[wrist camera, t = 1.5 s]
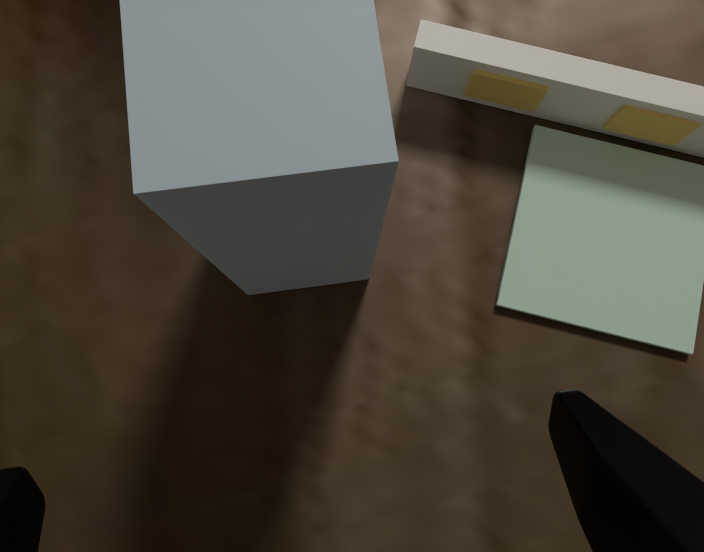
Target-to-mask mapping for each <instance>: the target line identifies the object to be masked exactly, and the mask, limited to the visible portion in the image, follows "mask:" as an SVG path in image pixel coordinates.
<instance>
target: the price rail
mask: <svg viewBox="0 0 704 552" xmlns="http://www.w3.org/2000/svg"><path fill="white" fill-rule="evenodd" d="M406 86H409V87H414V88H418V89H422V90H426V91H430V92H434V93H438V94H443V95H447V96H451V97H455V98H459V99H463V100H467V101H471V102H476V103H480V104H484V105H488V106H492V107H496V108H500V109H505V110H509V111H513V112H517V113H521V114H525V115H529V116H533V117H538V118H542V119H546V120H550V121H554V122H558V123H562V124H567V125H571V126H575V127H579V128H583V129H587V130H591V131H595V132H600V133H604V134H608V135H612V136H616V137H620V138H624V139H629V140H633V141H637V142H641V143H645V144H649V145H653V146H658V147H662V148H666V149H670V150H674V151H678V152H682V153H686V154H691V155H695V156H699V157H703V158H704V87H703V86H699V85H695V84H690V83H686V82H682V81H678V80H674V79H669V78H665V77H661V76H657V75H652V74H648V73H644V72H640V71H636V70H631V69H627V68H623V67H619V66H615V65H610V64H606V63H602V62H598V61H594V60H589V59H585V58H581V57H577V56H573V55H568V54H564V53H560V52H556V51H552V50H547V49H543V48H539V47H535V46H531V45H526V44H522V43H518V42H514V41H510V40H505V39H501V38H497V37H493V36H489V35H484V34H480V33H476V32H472V31H468V30H463V29H459V28H455V27H451V26H447V25H442V24H438V23H434V22H430V21H426V20H421V21H420V25H419V29H418V33H417V37H416V41H415V45H414V49H413V54H412V58H411V63H410V68H409V73H408V78H407V82H406Z"/></svg>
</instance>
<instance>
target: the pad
mask: <svg viewBox="0 0 704 552" xmlns="http://www.w3.org/2000/svg"><path fill="white" fill-rule="evenodd" d="M703 282H704V166H703V165H699V164H695V163H691V162H687V161H683V160H678V159H674V158H670V157H666V156H662V155H658V154H654V153H649V152H645V151H641V150H637V149H633V148H629V147H625V146H621V145H616V144H612V143H608V142H604V141H600V140H596V139H592V138H588V137H583V136H579V135H575V134H571V133H567V132H563V131H559V130H555V129H550V128H546V127H542V126H538V125H535V126H534V127H533V129H532V134H531V139H530V144H529V148H528V153H527V158H526V162H525V167H524V172H523V177H522V181H521V186H520V191H519V196H518V200H517V205H516V210H515V214H514V219H513V224H512V229H511V233H510V238H509V243H508V248H507V252H506V257H505V262H504V266H503V271H502V276H501V281H500V285H499V290H498V295H497V300H496V304H495V306H499V307H503V308H507V309H511V310H515V311H519V312H523V313H527V314H531V315H535V316H539V317H543V318H546V319H550V320H554V321H558V322H562V323H566V324H570V325H574V326H578V327H582V328H586V329H590V330H594V331H598V332H602V333H606V334H610V335H614V336H618V337H622V338H626V339H629V340H633V341H637V342H641V343H645V344H649V345H653V346H657V347H661V348H665V349H669V350H673V351H677V352H681V353H685V354H693V351H694V344H695V337H696V330H697V323H698V317H699V310H700V303H701V296H702V289H703Z"/></svg>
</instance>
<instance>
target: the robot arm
mask: <svg viewBox="0 0 704 552" xmlns="http://www.w3.org/2000/svg"><path fill="white" fill-rule="evenodd" d="M549 433H550V437H551V440H552V443H553V446H554V449H555V452H556V455H557V458H558V461H559V464H560V467H561V470H562V473H563V476H564V479H565V482H566V485H567V488H568V491H569V494H570V497H571V500H572V503H573V506H574V508H575V511H576V514H577V517H578V520H579V522H580V524H581V527H582V529H583V531H584V534H585V536H586V538H587V540H588V542H589V544H590V547H591V549H592V551H593V552H704V482H703V481H701V480H700V479H699V478H697V477H696V476H695V475H693V474H692V473H691V472H689V471H688V470H687V469H685V468H684V467H683V466H681V465H680V464H679V463H677V462H676V461H675V460H673V459H672V458H671V457H669V456H668V455H667V454H665V453H664V452H663V451H661V450H660V449H659V448H657V447H656V446H655V445H653V444H652V443H651V442H649V441H648V440H647V439H645V438H644V437H643V436H641V435H640V434H638V433H637V432H636V431H634V430H633V429H632V428H630V427H629V426H628V425H626V424H625V423H624V422H622V421H621V420H620V419H618V418H617V417H616V416H614V415H613V414H612V413H610V412H609V411H608V410H606V409H605V408H604V407H602V406H601V405H600V404H598V403H597V402H596V401H594V400H593V399H592V398H590V397H589V396H588V395H586V394H585V393H584V392H582V391H580V390H577V389H573V390H566V391H559V392H556V393H555V394H554V396H553V400H552V406H551V412H550V418H549ZM44 512H45V499H44V495H43V493H42V492H41V490H40V489H39V487H38V486H37V484H36V483H35V481H34V479H33V478H32V476H31V475H30V473H29V472H28V471H27V469H25V468H23V467H13V468H6V469H0V552H38V547H39V542H40V536H41V530H42V524H43V518H44Z"/></svg>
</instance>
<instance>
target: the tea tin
mask: <svg viewBox="0 0 704 552" xmlns="http://www.w3.org/2000/svg"><path fill="white" fill-rule="evenodd" d="M120 13H121V27H122V41H123V55H124V69H125V83H126V97H127V111H128V125H129V139H130V153H131V167H132V181H133V194H134V195H135V196H136V197H138V198H139V199H140V200H141V201H142V202H143V203H144V204H146V205H147V206H148V207H149V208H150V209H151V210H152V211H153V212H155V213H156V214H157V215H158V216H159V217H160V218H161V219H162V220H164V221H165V222H166V223H167V224H168V225H169V226H170V227H172V228H173V229H174V230H175V231H176V232H177V233H178V234H179V235H181V236H182V237H183V238H184V239H185V240H186V241H187V242H188V243H190V244H191V245H192V246H193V247H194V248H195V249H196V250H198V251H199V252H200V253H201V254H202V255H203V256H204V257H205V258H207V259H208V260H209V261H210V262H211V263H212V264H213V265H214V266H216V267H217V268H218V269H219V270H220V271H221V272H222V273H224V274H225V275H226V276H227V277H228V278H229V279H230V280H231V281H233V282H234V283H235V284H236V285H237V286H238V287H239V288H240V289H242V290H243V291H244V292H245V293H246V294H247V295H253V294H261V293H268V292H276V291H284V290H291V289H299V288H307V287H314V286H322V285H329V284H337V283H345V282H352V281H360V280H368V279H369V278H370V274H371V270H372V266H373V262H374V258H375V254H376V250H377V246H378V242H379V238H380V234H381V230H382V226H383V222H384V218H385V214H386V210H387V206H388V202H389V198H390V194H391V190H392V186H393V182H394V178H395V174H396V170H397V166H398V162H399V160H398V154H397V147H396V141H395V135H394V128H393V122H392V115H391V109H390V103H389V96H388V90H387V84H386V77H385V71H384V65H383V58H382V52H381V45H380V39H379V33H378V26H377V20H376V14H375V7H374V1H373V0H120Z"/></svg>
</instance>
